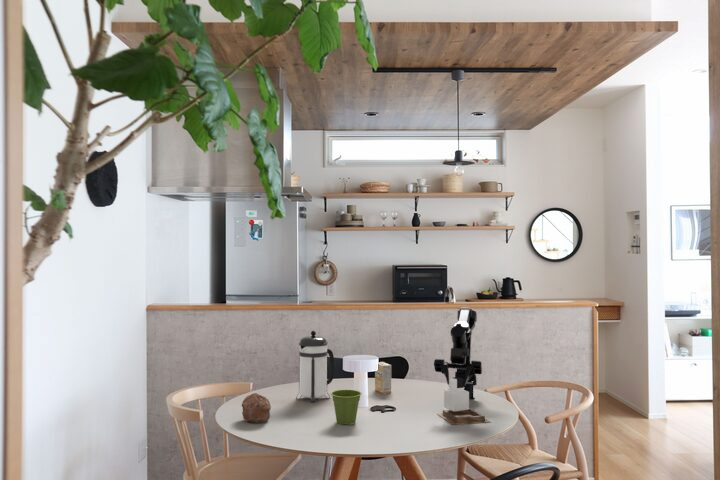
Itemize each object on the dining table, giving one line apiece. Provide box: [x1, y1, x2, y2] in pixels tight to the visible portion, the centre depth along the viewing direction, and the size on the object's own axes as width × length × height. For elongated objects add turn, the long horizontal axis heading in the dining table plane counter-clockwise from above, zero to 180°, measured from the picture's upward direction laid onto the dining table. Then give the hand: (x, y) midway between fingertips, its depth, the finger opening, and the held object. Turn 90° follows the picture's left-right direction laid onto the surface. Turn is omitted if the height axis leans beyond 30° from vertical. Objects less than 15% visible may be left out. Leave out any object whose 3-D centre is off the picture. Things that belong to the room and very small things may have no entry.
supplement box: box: [374, 361, 392, 395], centre depth 293 cm, size 8×5×13 cm, turn 25°
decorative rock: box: [241, 392, 272, 424], centre depth 244 cm, size 13×11×10 cm
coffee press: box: [295, 330, 335, 404], centre depth 280 cm, size 17×16×30 cm
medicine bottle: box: [443, 376, 470, 412], centre depth 248 cm, size 7×7×12 cm
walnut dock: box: [436, 407, 492, 426], centre depth 247 cm, size 16×16×3 cm
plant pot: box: [330, 389, 363, 425], centre depth 241 cm, size 12×12×11 cm
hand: (456, 384), depth 247 cm, fingers closed on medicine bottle, 6 cm apart
